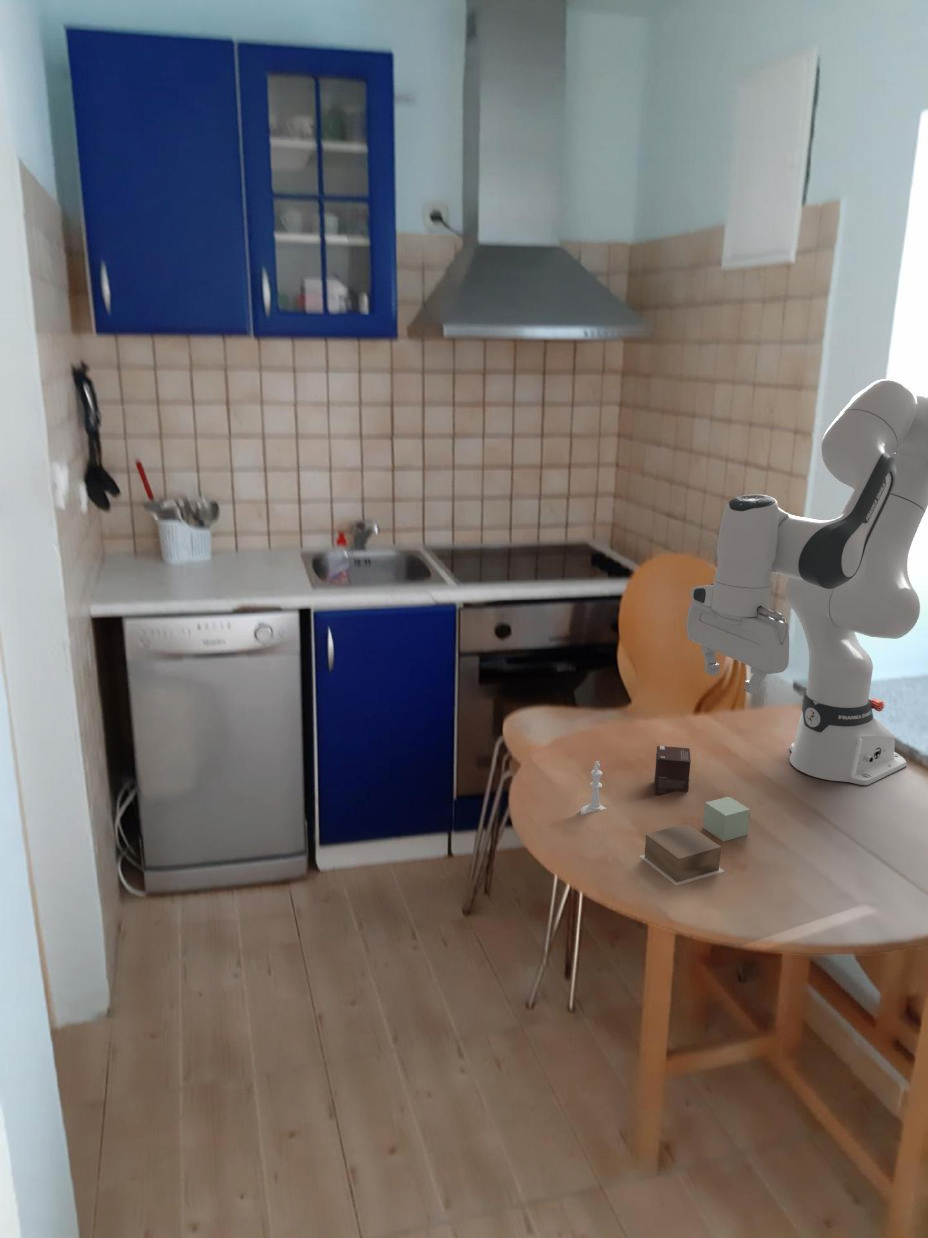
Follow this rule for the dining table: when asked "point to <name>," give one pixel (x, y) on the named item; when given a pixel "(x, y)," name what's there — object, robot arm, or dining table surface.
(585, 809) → the chess piece
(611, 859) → the dining table surface
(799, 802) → the dining table surface
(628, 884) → the dining table surface
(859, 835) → the dining table surface
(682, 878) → the base block
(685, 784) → the box
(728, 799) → the sage block
